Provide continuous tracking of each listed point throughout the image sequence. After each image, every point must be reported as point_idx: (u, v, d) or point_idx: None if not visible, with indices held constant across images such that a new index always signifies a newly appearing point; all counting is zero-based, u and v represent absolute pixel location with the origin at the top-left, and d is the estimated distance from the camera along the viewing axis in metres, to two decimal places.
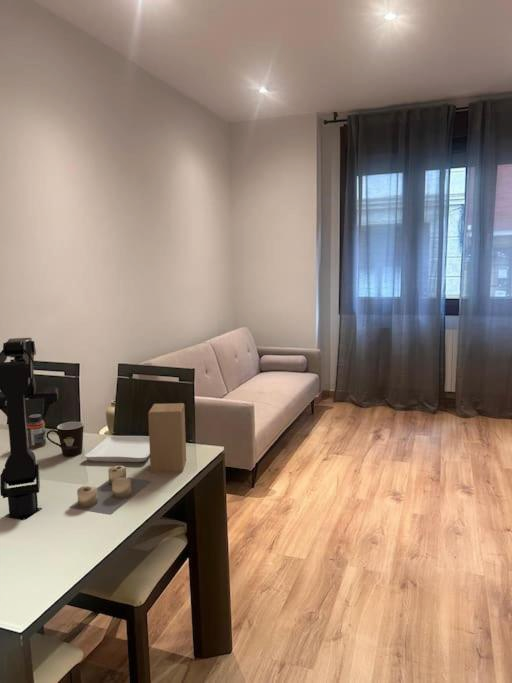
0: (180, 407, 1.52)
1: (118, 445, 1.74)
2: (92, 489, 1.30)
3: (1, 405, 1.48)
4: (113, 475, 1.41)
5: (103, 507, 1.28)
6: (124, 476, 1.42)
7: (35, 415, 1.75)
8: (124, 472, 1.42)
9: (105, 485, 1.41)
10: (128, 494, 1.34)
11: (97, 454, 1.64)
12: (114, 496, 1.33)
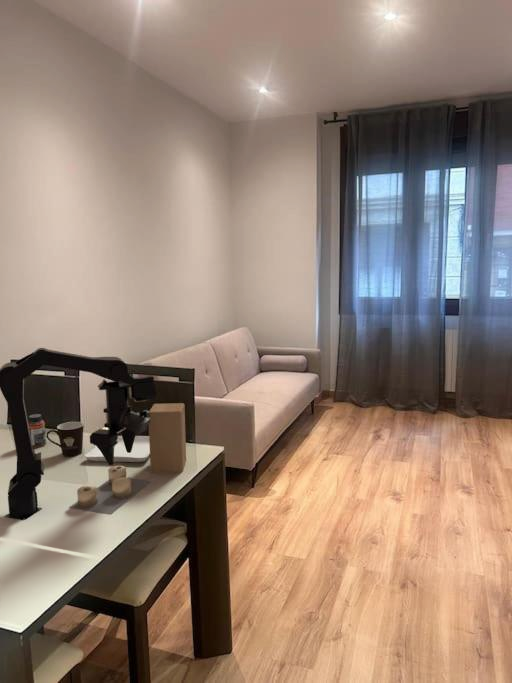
0: (180, 407, 1.52)
1: (118, 445, 1.74)
2: (92, 489, 1.30)
3: None
4: (113, 475, 1.41)
5: (103, 507, 1.28)
6: (124, 476, 1.42)
7: (35, 415, 1.75)
8: (124, 472, 1.42)
9: (105, 485, 1.41)
10: (128, 494, 1.34)
11: (97, 454, 1.64)
12: (114, 496, 1.33)
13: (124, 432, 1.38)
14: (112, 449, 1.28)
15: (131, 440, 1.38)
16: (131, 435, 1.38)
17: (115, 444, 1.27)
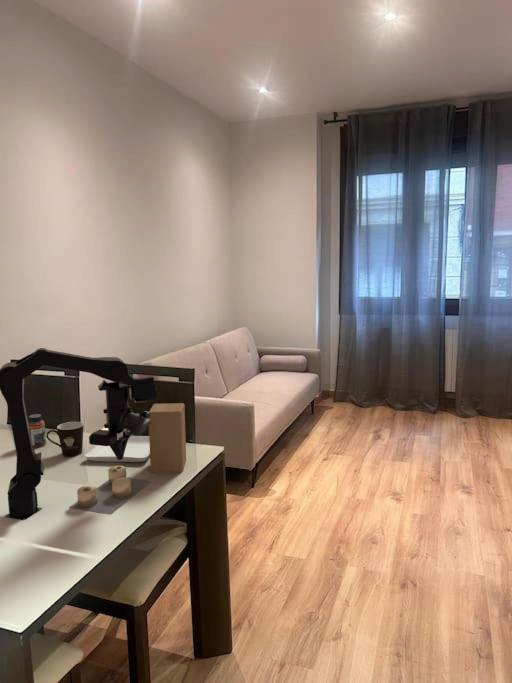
0: (180, 407, 1.52)
1: None
2: (92, 489, 1.30)
3: None
4: (113, 475, 1.41)
5: (103, 507, 1.28)
6: (124, 476, 1.42)
7: (35, 415, 1.75)
8: (124, 472, 1.42)
9: (105, 485, 1.41)
10: (128, 494, 1.34)
11: (97, 454, 1.64)
12: (114, 496, 1.33)
13: None
14: (121, 444, 1.31)
15: (123, 446, 1.33)
16: (122, 441, 1.33)
17: (124, 439, 1.30)
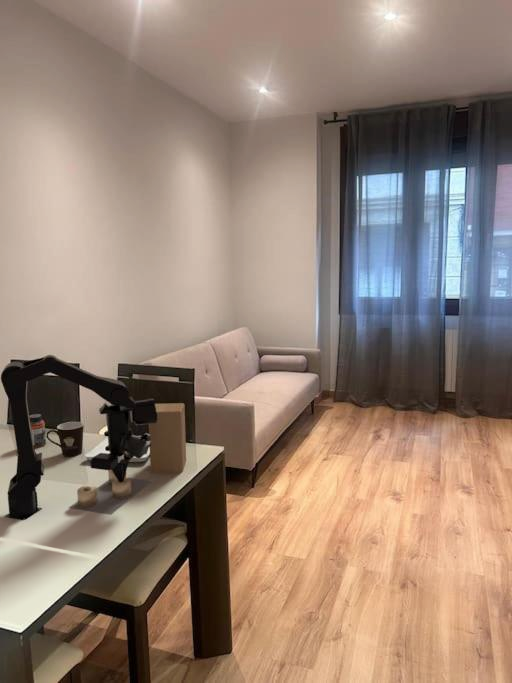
0: (180, 407, 1.52)
1: None
2: (92, 489, 1.30)
3: None
4: (113, 475, 1.41)
5: (103, 507, 1.28)
6: None
7: (35, 415, 1.75)
8: None
9: (105, 485, 1.41)
10: (128, 494, 1.34)
11: (97, 454, 1.64)
12: (114, 496, 1.33)
13: None
14: (122, 467, 1.32)
15: (124, 468, 1.34)
16: (123, 464, 1.34)
17: (125, 462, 1.31)
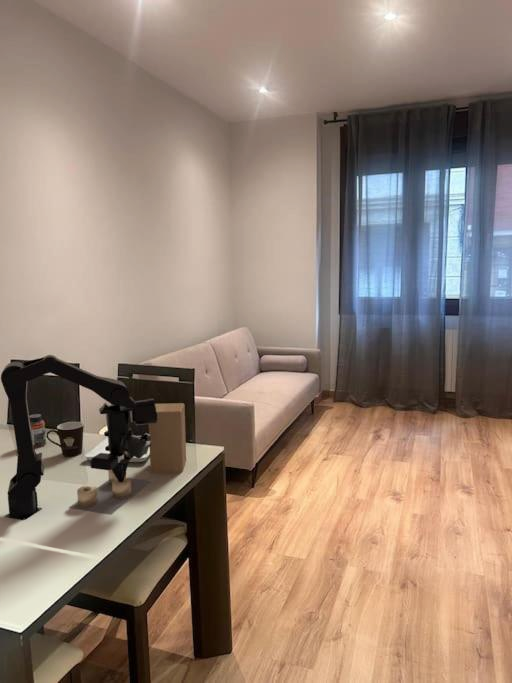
0: (180, 407, 1.52)
1: None
2: (92, 489, 1.30)
3: None
4: (113, 475, 1.41)
5: (103, 507, 1.28)
6: None
7: (35, 415, 1.75)
8: None
9: (105, 485, 1.41)
10: (128, 494, 1.34)
11: (97, 454, 1.64)
12: (114, 496, 1.33)
13: None
14: (122, 467, 1.32)
15: (124, 468, 1.34)
16: (123, 464, 1.34)
17: (125, 462, 1.31)
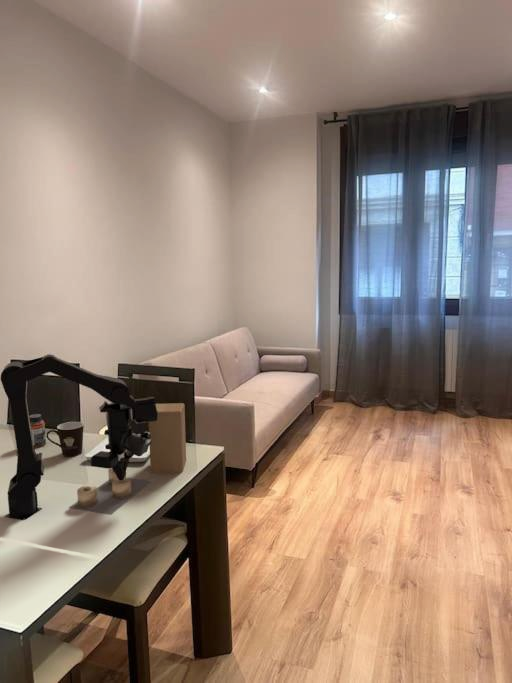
0: (180, 407, 1.52)
1: None
2: (92, 489, 1.30)
3: None
4: (113, 475, 1.41)
5: (103, 507, 1.28)
6: None
7: (35, 415, 1.75)
8: None
9: (105, 485, 1.41)
10: (128, 494, 1.34)
11: None
12: (114, 496, 1.33)
13: None
14: (122, 465, 1.32)
15: (124, 467, 1.34)
16: (123, 462, 1.34)
17: (125, 460, 1.31)
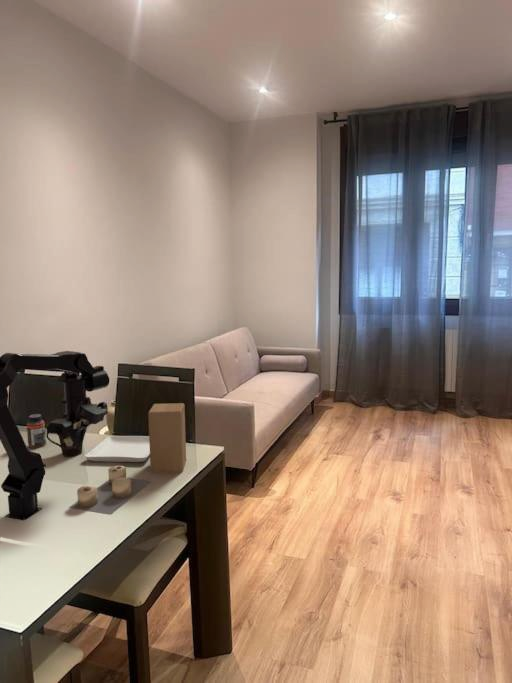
0: (180, 407, 1.52)
1: (118, 445, 1.74)
2: (92, 489, 1.30)
3: None
4: (113, 475, 1.41)
5: (103, 507, 1.28)
6: (124, 476, 1.42)
7: (35, 415, 1.75)
8: (124, 472, 1.42)
9: (105, 485, 1.41)
10: (128, 494, 1.34)
11: (97, 454, 1.64)
12: (114, 496, 1.33)
13: None
14: (79, 433, 1.38)
15: (81, 435, 1.39)
16: (81, 431, 1.39)
17: (81, 428, 1.37)
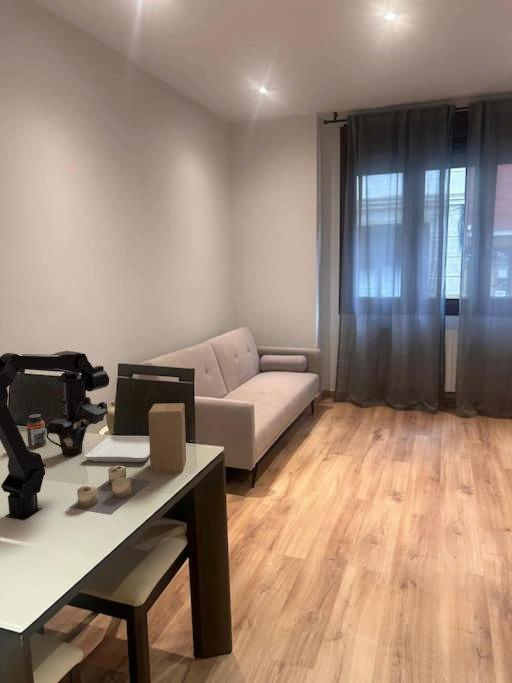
0: (180, 407, 1.52)
1: (118, 445, 1.74)
2: (92, 489, 1.30)
3: None
4: (113, 475, 1.41)
5: (103, 507, 1.28)
6: (124, 476, 1.42)
7: (35, 415, 1.75)
8: (124, 472, 1.42)
9: (105, 485, 1.41)
10: (128, 494, 1.34)
11: (97, 454, 1.64)
12: (114, 496, 1.33)
13: None
14: (79, 433, 1.38)
15: (81, 435, 1.39)
16: (81, 431, 1.39)
17: (81, 428, 1.37)
